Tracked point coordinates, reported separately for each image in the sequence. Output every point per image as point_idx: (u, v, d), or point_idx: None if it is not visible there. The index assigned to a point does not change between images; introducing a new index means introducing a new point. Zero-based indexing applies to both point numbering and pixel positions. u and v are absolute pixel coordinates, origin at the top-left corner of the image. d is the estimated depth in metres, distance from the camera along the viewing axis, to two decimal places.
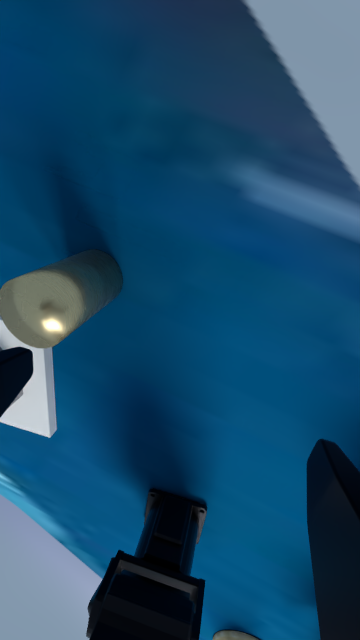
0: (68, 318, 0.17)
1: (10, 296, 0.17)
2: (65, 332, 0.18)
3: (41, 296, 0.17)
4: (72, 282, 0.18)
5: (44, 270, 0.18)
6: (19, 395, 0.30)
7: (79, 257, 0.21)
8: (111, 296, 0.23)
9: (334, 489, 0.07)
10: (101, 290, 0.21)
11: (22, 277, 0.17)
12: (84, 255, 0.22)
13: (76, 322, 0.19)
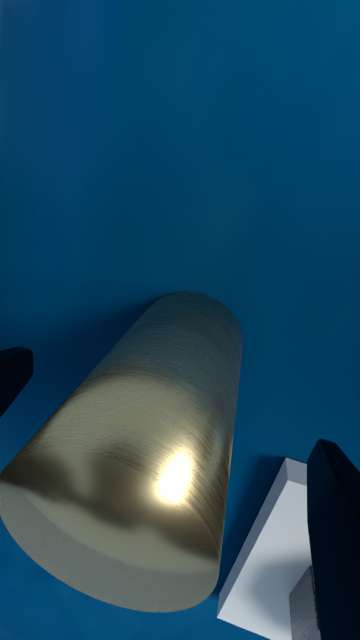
0: (107, 442, 0.05)
1: (57, 559, 0.06)
2: (154, 474, 0.05)
3: (33, 490, 0.05)
4: (78, 388, 0.07)
5: None
6: None
7: None
8: (207, 317, 0.10)
9: (334, 489, 0.07)
10: (161, 331, 0.09)
11: None
12: None
13: (164, 418, 0.06)
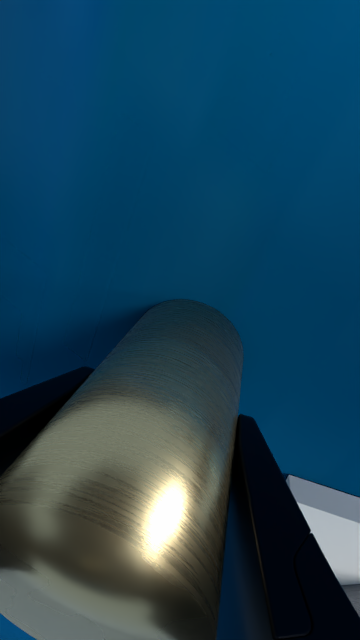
0: (80, 494, 0.04)
1: (29, 617, 0.05)
2: (136, 537, 0.04)
3: None
4: (57, 415, 0.06)
5: None
6: None
7: None
8: (204, 329, 0.09)
9: (237, 457, 0.07)
10: (153, 346, 0.08)
11: None
12: None
13: (151, 458, 0.05)
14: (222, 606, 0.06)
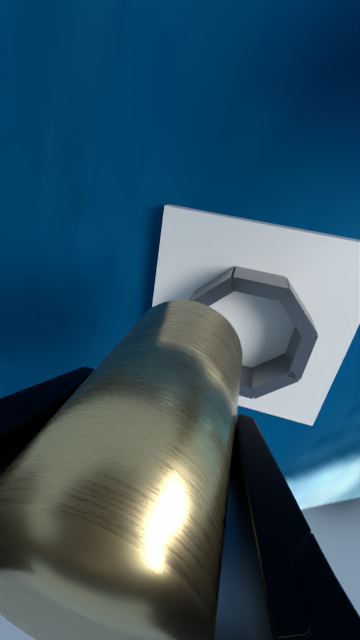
0: (78, 494, 0.04)
1: (28, 616, 0.05)
2: (133, 537, 0.04)
3: None
4: (55, 416, 0.06)
5: None
6: (282, 277, 0.18)
7: None
8: (203, 329, 0.09)
9: (237, 457, 0.07)
10: (151, 347, 0.08)
11: None
12: None
13: (149, 458, 0.05)
14: (222, 606, 0.06)
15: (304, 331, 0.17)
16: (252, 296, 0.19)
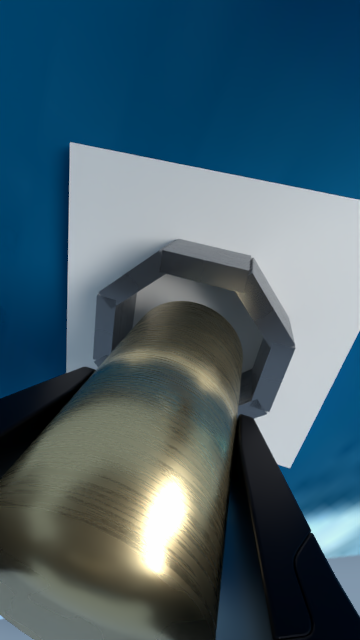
0: (79, 497, 0.04)
1: (29, 619, 0.05)
2: (135, 540, 0.04)
3: None
4: (57, 417, 0.06)
5: None
6: (244, 256, 0.12)
7: None
8: (204, 331, 0.09)
9: (237, 457, 0.07)
10: (152, 348, 0.08)
11: None
12: None
13: (150, 460, 0.05)
14: (222, 606, 0.06)
15: (274, 340, 0.11)
16: (204, 285, 0.13)
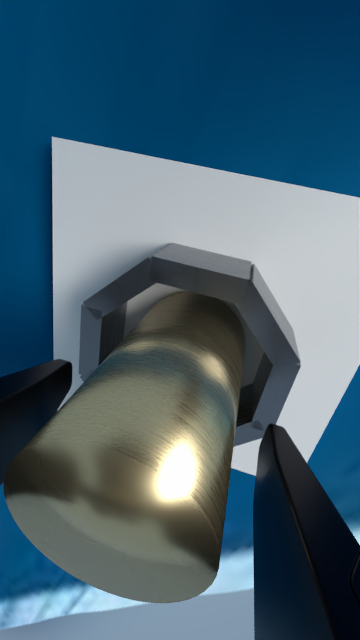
0: (111, 434, 0.05)
1: (62, 550, 0.06)
2: (156, 466, 0.05)
3: (40, 482, 0.06)
4: (84, 384, 0.07)
5: None
6: (244, 263, 0.11)
7: None
8: (210, 316, 0.10)
9: (273, 469, 0.07)
10: (164, 330, 0.09)
11: None
12: None
13: (167, 413, 0.06)
14: (265, 623, 0.06)
15: (277, 356, 0.10)
16: None
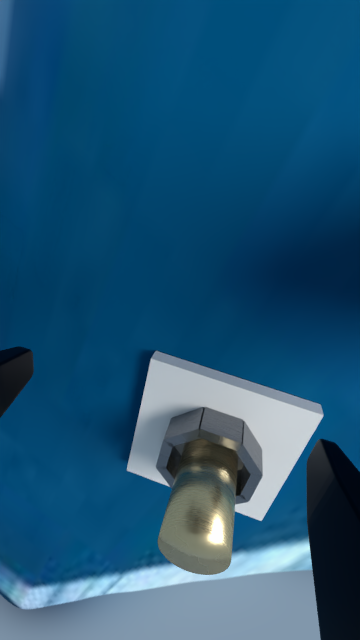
0: (200, 523, 0.17)
1: (174, 556, 0.19)
2: (214, 533, 0.17)
3: (174, 535, 0.18)
4: (180, 494, 0.19)
5: (165, 512, 0.20)
6: (239, 423, 0.23)
7: (179, 464, 0.23)
8: (223, 449, 0.22)
9: (334, 489, 0.07)
10: (206, 463, 0.21)
11: None
12: (181, 457, 0.24)
13: (214, 512, 0.18)
14: None
15: (252, 471, 0.22)
16: None
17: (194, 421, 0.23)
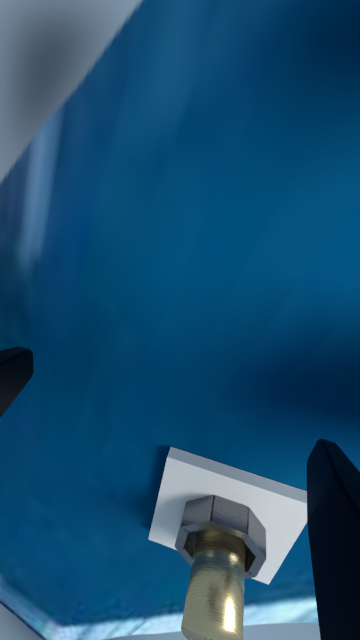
0: (215, 616, 0.21)
1: (195, 639, 0.22)
2: (227, 625, 0.21)
3: (195, 624, 0.22)
4: (197, 584, 0.23)
5: (186, 599, 0.24)
6: (245, 510, 0.27)
7: None
8: None
9: (334, 489, 0.07)
10: (218, 552, 0.25)
11: (181, 626, 0.22)
12: (196, 539, 0.27)
13: (226, 603, 0.22)
14: None
15: (257, 554, 0.26)
16: None
17: (206, 511, 0.26)
